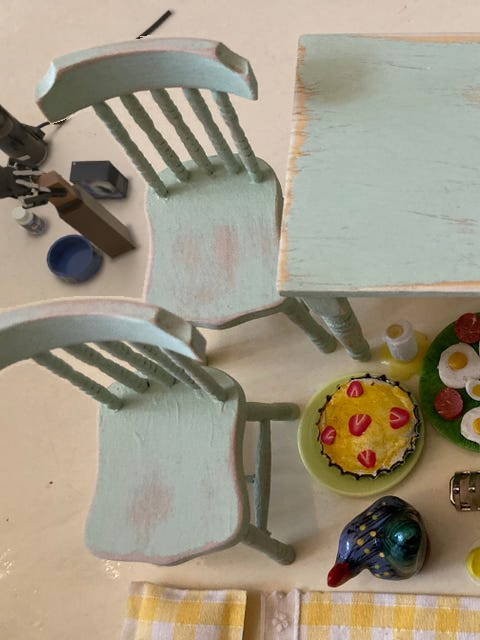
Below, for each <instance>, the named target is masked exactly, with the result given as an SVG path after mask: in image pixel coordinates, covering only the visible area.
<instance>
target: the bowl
mask: <svg viewBox="0 0 480 640" xmlns="http://www.w3.org/2000/svg"><path fill="white" fill-rule="evenodd" d="M46 253H47V254H46V264H47V268H48V270H49V271H50V272H51V273H53V274H54V275H55V276H57V277H59V278H60V279H61V280H63V281H64V282H66V283H70V284H81V283H84V282H88V281H89V280H90V279H92V278H94V276H96V274H97V273H98V272H99V270H100V269H101V266H102V262H103V256H102V251H101V249H99V248H98V247H97V246H95V245H94V244H93V243H92V242H90V241H89V240H88V239H86V238H85V237H84V236H83V235H81V234H77V233H73V234H72V233H71V234H67V235H64V236H61V237H59V238H58V239H56V240H55V241H54V242H53V244H51V245H50V247H49V248H48V251H47V252H46Z"/></svg>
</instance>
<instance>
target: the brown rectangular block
mask: <svg viewBox="0 0 480 640" xmlns="http://www.w3.org/2000/svg"><path fill="white" fill-rule="evenodd" d="M71 185H72V186H75V187H76V188H77V189H78V192H79V194H80V197H81V199H82V202H79V203H77V204H75V205H73V206H70V207H68V208H66V209H64V210H62V211H58V210H57V209H56V208H55V210H56V212H57V215H58V217H59V219H60V220H62V221H63V222H65V223H66V224H67V225H68V226H70V227H71V228H72V229H73V230H75V231H76V232H77V233H79V235H81V236H84V237H85V238H86V239H88V240H89V241H90V242H92V243H93V244H94V245H95V246H97V247H98V249H99V250H100V251H101V252H103V253H104V254H105V255H107V256H108V257H109V258H111V259H115V258H117V257H120V256H122V255H124V254H126V253H128V252H131V251H133V250H134V249H136V248H137V247H136V244H135V242H134V240H133V238H132V235H131V233H130V230H129V228H128V226H126V225H125V224H124V223H122V221H121V220H119V219H118V218H117V217H116V216H115V215H114V214H113V213H112V212H110V210H108V209H107V208H106V207H105V206H104V205H102V204H101V203H100V202H99V201H98V199H95V198H93V197H92V196H91V195H90V194H89V193H88V192H87V191H86V190H84V189H83V188H82V187H81V186H80V185H79V184H78V183H77V184H75V185H74V184H71Z"/></svg>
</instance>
